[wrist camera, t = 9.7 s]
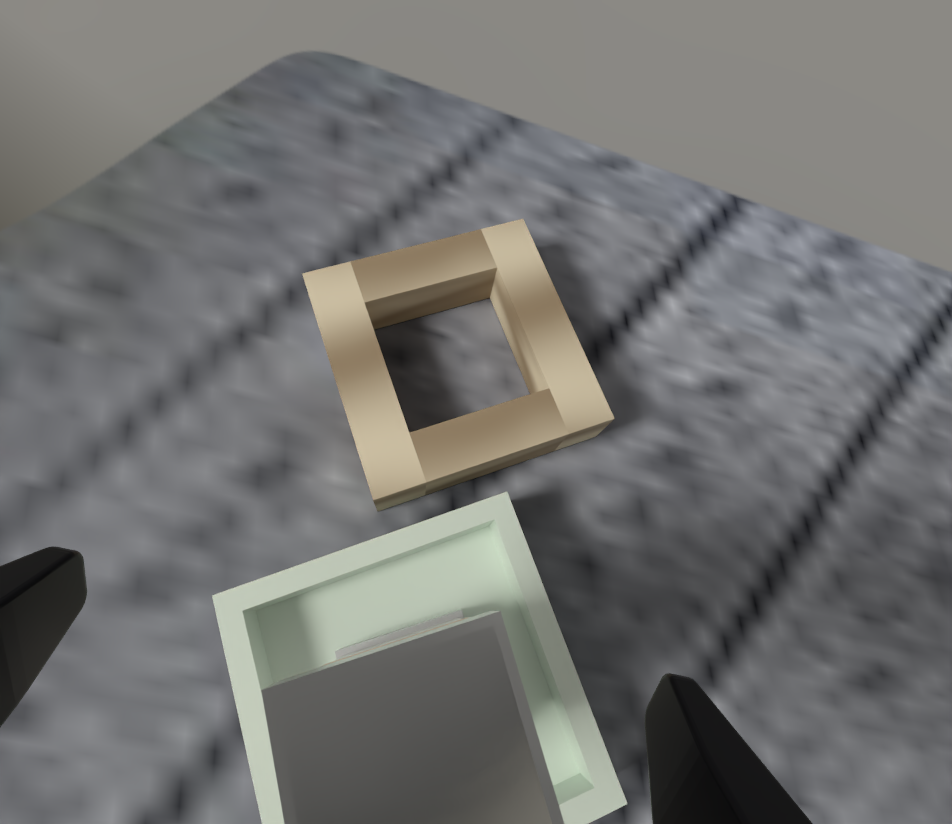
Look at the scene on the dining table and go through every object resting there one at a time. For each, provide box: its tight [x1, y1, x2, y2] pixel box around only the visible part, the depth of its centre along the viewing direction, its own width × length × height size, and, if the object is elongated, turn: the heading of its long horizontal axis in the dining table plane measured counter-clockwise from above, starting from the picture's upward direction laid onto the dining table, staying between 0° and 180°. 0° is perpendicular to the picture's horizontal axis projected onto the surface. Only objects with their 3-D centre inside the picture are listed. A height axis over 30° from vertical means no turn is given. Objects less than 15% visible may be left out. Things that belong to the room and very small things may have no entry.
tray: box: [212, 492, 627, 824], centre depth 20 cm, size 11×11×2 cm
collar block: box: [302, 219, 615, 511], centre depth 24 cm, size 10×10×2 cm
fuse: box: [261, 610, 564, 824], centre depth 15 cm, size 4×4×11 cm
